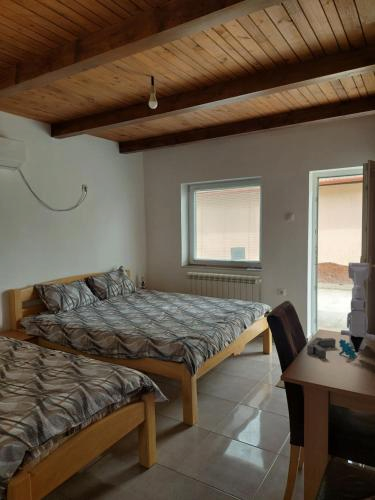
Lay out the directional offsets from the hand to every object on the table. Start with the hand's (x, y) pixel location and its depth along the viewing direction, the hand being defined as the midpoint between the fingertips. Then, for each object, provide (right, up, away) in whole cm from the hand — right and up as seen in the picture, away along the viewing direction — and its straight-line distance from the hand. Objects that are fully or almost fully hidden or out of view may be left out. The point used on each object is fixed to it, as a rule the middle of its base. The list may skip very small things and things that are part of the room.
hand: (356, 351), depth 169 cm
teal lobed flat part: (-3, -3, +3) cm, 5 cm away
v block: (-13, -2, +10) cm, 16 cm away
